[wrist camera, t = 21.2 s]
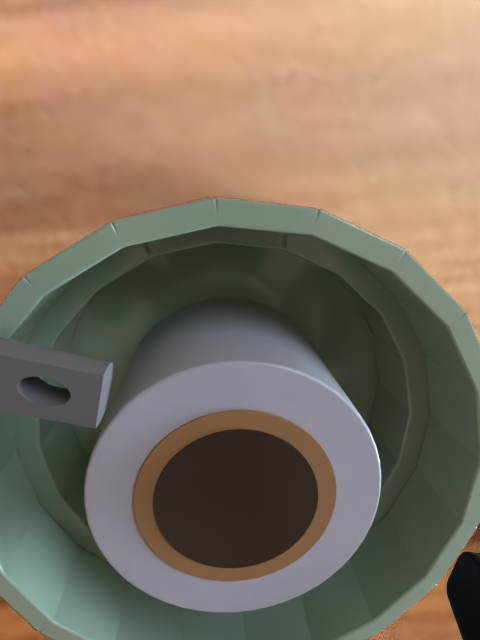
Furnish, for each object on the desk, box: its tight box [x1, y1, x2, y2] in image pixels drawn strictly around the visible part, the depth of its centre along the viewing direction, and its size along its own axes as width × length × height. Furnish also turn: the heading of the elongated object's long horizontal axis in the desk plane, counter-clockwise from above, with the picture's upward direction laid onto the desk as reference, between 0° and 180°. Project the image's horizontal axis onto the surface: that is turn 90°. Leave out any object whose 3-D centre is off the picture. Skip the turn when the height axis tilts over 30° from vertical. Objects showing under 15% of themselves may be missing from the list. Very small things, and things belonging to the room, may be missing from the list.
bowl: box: [0, 196, 480, 640], centre depth 12 cm, size 12×12×5 cm
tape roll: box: [84, 299, 381, 612], centre depth 11 cm, size 6×6×5 cm
